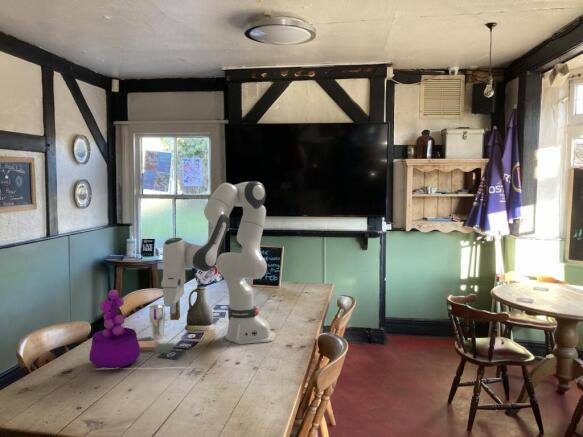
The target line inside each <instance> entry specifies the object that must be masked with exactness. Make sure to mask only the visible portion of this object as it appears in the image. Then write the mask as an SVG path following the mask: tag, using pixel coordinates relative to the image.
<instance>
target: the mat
mask: <svg viewBox="0 0 583 437" xmlns="http://www.w3.org/2000/svg"><path fill="white" fill-rule="evenodd" d="M174 345H175V343H174V342H173V343H172V342H171V343H170V342H169V343H158V346H157V347H156V349H155V351H140V355H141V354H144V355H145V354H170V353H171V351H172V349H173V347H174Z"/></svg>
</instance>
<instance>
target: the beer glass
mask: <svg viewBox="0 0 583 437" xmlns="http://www.w3.org/2000/svg"><path fill="white" fill-rule="evenodd" d="M148 314H149V324H150V329H151V336H150V339H151V340H153V341H159V340H162V339H164V338H165V337H166V336H165V331H164V330H165V321H166V306H165V305H164V304H153V305H150V306H149V313H148Z"/></svg>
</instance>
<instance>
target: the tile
mask: <svg viewBox="0 0 583 437" xmlns="http://www.w3.org/2000/svg"><path fill="white" fill-rule="evenodd" d="M138 343H139V346H140V351H155V349H156V347H157V346H158V344H159V340H152V341H151V340H150V341H149V340H148V341H146V340H145V341H143V340H142V341H141V340H140V341H139V340H138Z"/></svg>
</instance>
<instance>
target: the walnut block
mask: <svg viewBox="0 0 583 437" xmlns="http://www.w3.org/2000/svg"><path fill="white" fill-rule="evenodd" d="M180 300H181V298H180V299H179V300H178V302H177V303H176V313H171V308H170V307H169V316H170V321H179V319H180V318H181V310H180V308H181V307H180V304H181V303H180Z"/></svg>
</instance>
